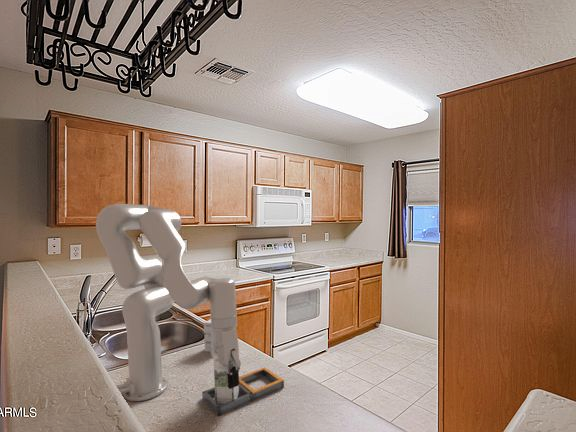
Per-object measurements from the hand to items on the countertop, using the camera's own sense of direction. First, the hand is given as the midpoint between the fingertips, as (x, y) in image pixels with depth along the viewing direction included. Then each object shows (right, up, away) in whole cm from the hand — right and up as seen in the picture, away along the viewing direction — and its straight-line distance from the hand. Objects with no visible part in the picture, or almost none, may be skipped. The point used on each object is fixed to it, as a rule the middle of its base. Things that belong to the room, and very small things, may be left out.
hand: (226, 380), depth 93 cm
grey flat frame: (+5, -5, +3) cm, 8 cm away
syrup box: (0, -6, 0) cm, 6 cm away
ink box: (-11, -7, +36) cm, 39 cm away
